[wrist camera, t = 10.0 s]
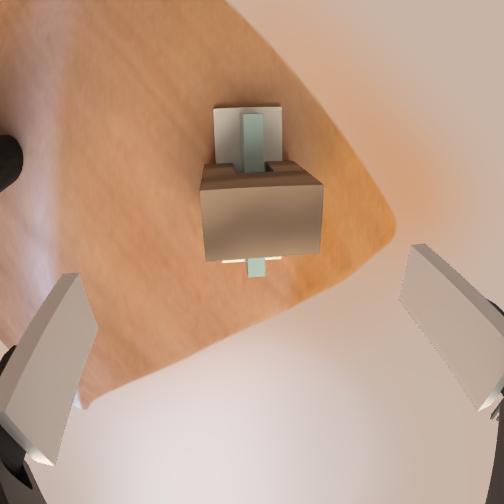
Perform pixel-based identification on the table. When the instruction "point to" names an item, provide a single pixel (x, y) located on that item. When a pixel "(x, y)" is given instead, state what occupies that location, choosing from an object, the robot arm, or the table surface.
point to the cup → (9, 160)
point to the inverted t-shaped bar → (248, 150)
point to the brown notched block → (260, 211)
